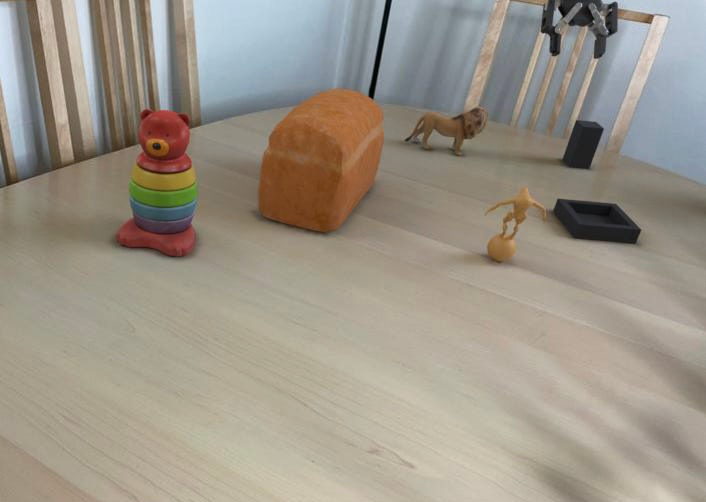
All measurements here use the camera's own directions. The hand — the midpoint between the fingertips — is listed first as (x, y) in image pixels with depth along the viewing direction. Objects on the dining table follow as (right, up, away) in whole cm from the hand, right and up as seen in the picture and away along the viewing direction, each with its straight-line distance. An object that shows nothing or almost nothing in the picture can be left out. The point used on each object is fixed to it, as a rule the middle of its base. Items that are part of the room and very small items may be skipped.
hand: (577, 56), depth 146 cm
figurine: (-29, -45, -38) cm, 66 cm away
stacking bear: (-78, -41, -40) cm, 97 cm away
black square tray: (-9, -37, -24) cm, 45 cm away
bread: (-54, -33, -24) cm, 67 cm away
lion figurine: (-26, -18, +1) cm, 32 cm away
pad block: (0, -21, 0) cm, 21 cm away
